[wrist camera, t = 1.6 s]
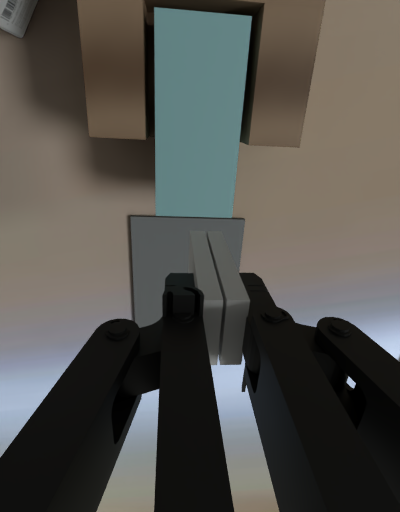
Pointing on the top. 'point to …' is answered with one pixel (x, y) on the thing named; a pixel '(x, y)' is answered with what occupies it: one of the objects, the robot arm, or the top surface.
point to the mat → (170, 255)
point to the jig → (143, 65)
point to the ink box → (16, 15)
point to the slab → (198, 109)
